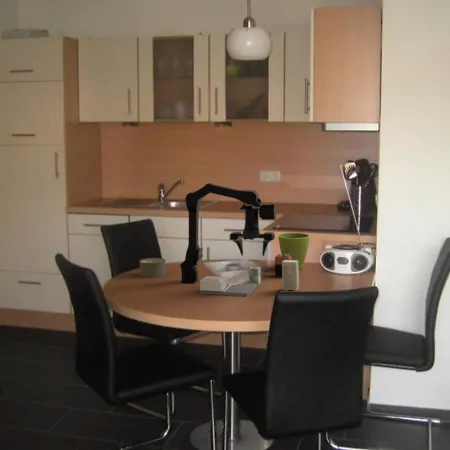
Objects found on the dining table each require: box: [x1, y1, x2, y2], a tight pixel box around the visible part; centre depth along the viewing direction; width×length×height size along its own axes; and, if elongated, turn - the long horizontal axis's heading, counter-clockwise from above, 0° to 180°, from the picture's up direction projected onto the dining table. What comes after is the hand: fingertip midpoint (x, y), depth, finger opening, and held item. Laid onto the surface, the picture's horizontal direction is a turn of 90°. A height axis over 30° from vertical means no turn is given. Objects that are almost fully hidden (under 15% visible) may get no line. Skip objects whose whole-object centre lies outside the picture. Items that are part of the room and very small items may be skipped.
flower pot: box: [277, 232, 311, 271], centre depth 318 cm, size 15×15×16 cm
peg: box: [248, 266, 262, 286], centre depth 290 cm, size 4×4×7 cm
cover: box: [199, 275, 227, 291], centre depth 276 cm, size 9×7×5 cm
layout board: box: [199, 282, 258, 297], centre depth 280 cm, size 20×17×1 cm
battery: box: [274, 253, 292, 278], centre depth 303 cm, size 4×7×10 cm, turn 68°
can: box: [138, 257, 166, 279], centre depth 310 cm, size 12×12×7 cm
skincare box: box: [281, 260, 300, 292], centre depth 278 cm, size 6×4×12 cm
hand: (252, 255), depth 288 cm, fingers open, 9 cm apart
